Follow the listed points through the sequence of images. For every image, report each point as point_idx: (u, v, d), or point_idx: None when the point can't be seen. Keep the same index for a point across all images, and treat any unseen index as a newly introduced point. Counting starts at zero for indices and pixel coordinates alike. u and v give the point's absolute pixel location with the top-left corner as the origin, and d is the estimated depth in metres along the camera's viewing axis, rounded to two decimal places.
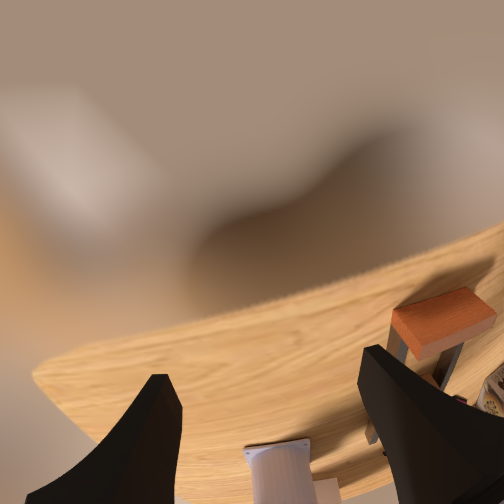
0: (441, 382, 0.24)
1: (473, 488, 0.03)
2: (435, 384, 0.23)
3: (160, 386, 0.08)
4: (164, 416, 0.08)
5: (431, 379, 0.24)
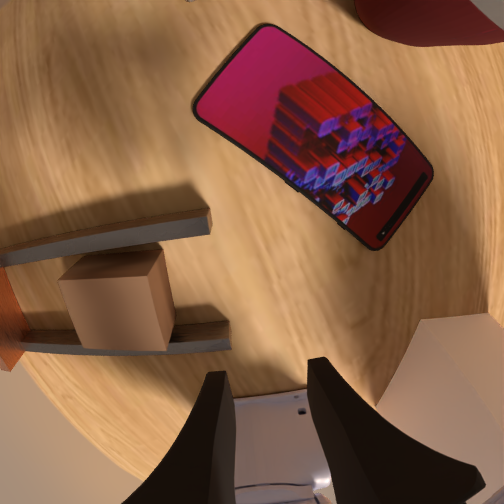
0: None
1: None
2: None
3: (223, 383, 0.08)
4: (227, 414, 0.08)
5: None
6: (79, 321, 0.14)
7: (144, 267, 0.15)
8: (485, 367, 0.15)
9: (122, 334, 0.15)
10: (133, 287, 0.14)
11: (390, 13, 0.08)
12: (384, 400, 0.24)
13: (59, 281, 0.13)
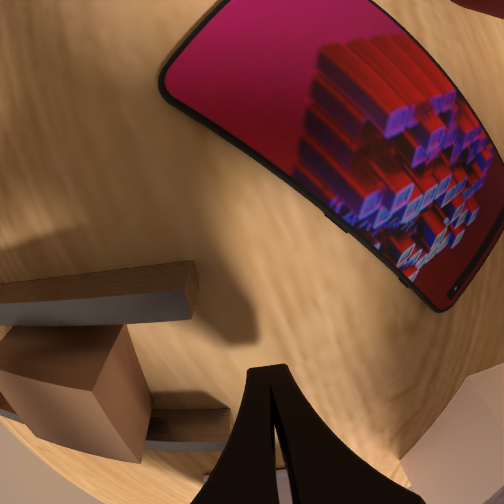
0: None
1: None
2: None
3: (267, 378, 0.08)
4: (272, 410, 0.08)
5: None
6: (22, 413, 0.07)
7: (90, 364, 0.08)
8: None
9: (78, 439, 0.08)
10: (76, 400, 0.07)
11: None
12: (411, 456, 0.17)
13: None
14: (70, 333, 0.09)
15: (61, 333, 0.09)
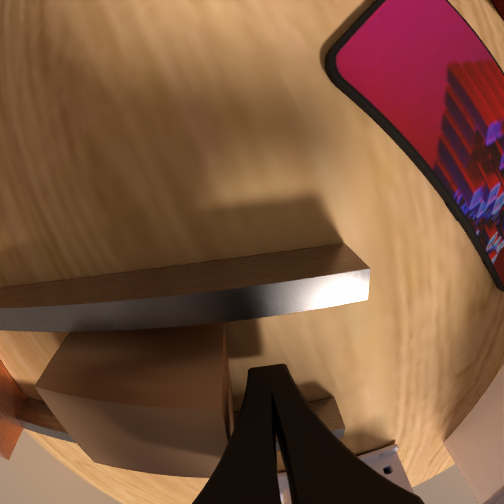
0: None
1: None
2: None
3: (269, 378, 0.08)
4: (273, 409, 0.08)
5: None
6: (84, 440, 0.07)
7: (203, 376, 0.07)
8: None
9: (162, 463, 0.07)
10: (189, 421, 0.06)
11: None
12: (455, 436, 0.17)
13: (38, 389, 0.06)
14: (156, 340, 0.09)
15: (143, 341, 0.09)
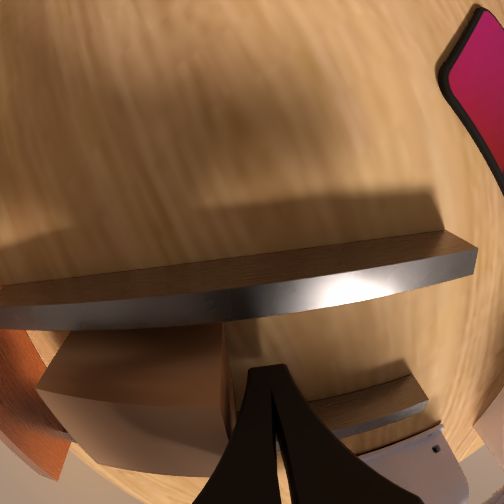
0: None
1: None
2: None
3: (269, 378, 0.08)
4: (273, 409, 0.08)
5: None
6: (86, 441, 0.07)
7: (202, 375, 0.07)
8: None
9: (164, 463, 0.07)
10: (188, 420, 0.06)
11: None
12: (484, 419, 0.17)
13: (38, 390, 0.06)
14: (154, 340, 0.09)
15: (141, 341, 0.09)
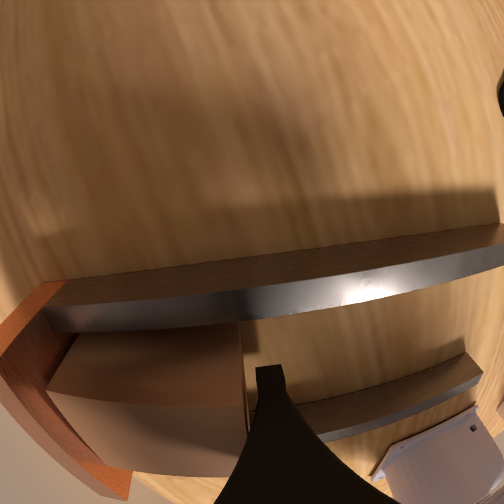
0: None
1: None
2: None
3: (282, 376, 0.08)
4: None
5: None
6: (97, 444, 0.07)
7: (221, 373, 0.07)
8: None
9: (179, 464, 0.07)
10: (209, 420, 0.06)
11: None
12: None
13: (49, 392, 0.06)
14: (170, 338, 0.09)
15: (156, 340, 0.09)
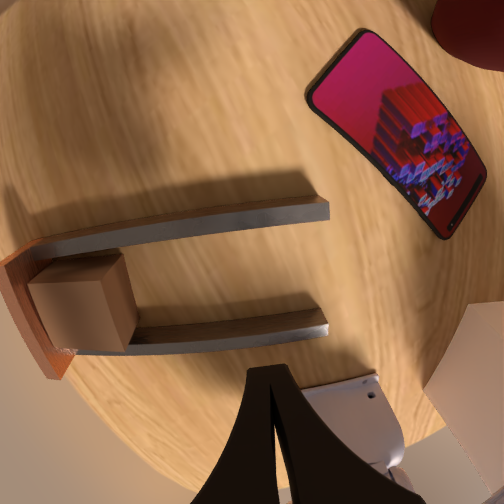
0: None
1: None
2: None
3: (267, 378, 0.08)
4: (271, 410, 0.08)
5: None
6: (48, 322, 0.14)
7: (100, 271, 0.15)
8: None
9: (85, 335, 0.15)
10: (89, 291, 0.14)
11: (475, 43, 0.08)
12: (432, 382, 0.24)
13: (29, 284, 0.13)
14: (88, 262, 0.16)
15: (82, 263, 0.16)
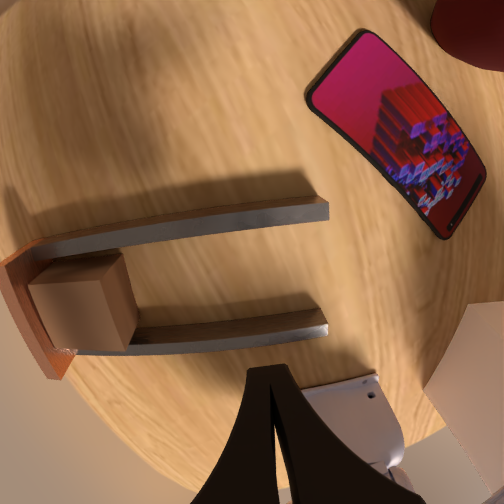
0: None
1: None
2: None
3: (267, 378, 0.08)
4: (271, 410, 0.08)
5: None
6: (49, 323, 0.14)
7: (100, 271, 0.15)
8: None
9: (86, 335, 0.15)
10: (89, 291, 0.14)
11: (475, 43, 0.08)
12: (432, 382, 0.24)
13: (29, 285, 0.13)
14: (88, 262, 0.16)
15: (82, 263, 0.16)
